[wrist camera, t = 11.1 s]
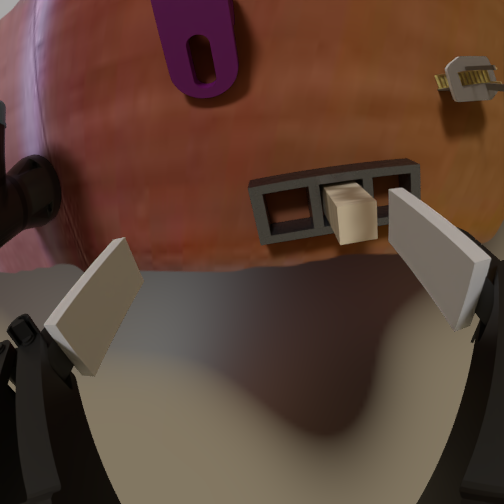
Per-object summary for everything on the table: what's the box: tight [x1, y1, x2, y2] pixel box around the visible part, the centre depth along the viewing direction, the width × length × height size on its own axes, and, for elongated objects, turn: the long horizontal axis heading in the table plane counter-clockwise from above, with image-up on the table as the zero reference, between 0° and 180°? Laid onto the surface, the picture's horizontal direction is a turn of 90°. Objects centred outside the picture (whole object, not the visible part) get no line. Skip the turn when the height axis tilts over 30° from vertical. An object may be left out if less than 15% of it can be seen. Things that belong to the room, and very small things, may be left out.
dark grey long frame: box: [248, 158, 420, 245], centre depth 40 cm, size 26×9×4 cm, turn 102°
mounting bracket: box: [151, 0, 239, 98], centre depth 30 cm, size 9×8×18 cm
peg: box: [320, 180, 378, 245], centre depth 37 cm, size 5×5×12 cm
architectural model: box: [435, 56, 504, 102], centre depth 24 cm, size 21×25×14 cm
